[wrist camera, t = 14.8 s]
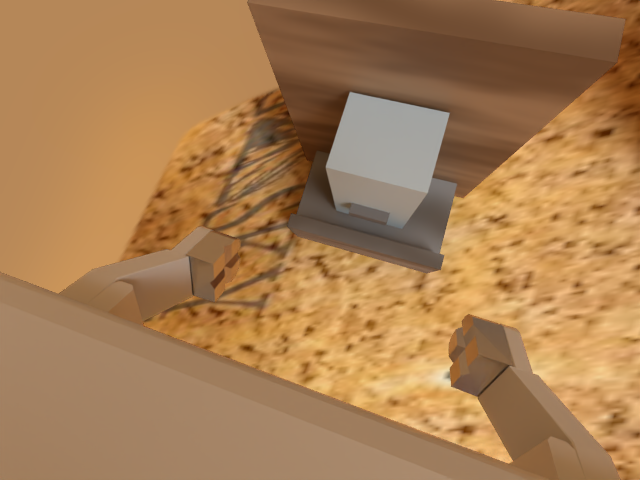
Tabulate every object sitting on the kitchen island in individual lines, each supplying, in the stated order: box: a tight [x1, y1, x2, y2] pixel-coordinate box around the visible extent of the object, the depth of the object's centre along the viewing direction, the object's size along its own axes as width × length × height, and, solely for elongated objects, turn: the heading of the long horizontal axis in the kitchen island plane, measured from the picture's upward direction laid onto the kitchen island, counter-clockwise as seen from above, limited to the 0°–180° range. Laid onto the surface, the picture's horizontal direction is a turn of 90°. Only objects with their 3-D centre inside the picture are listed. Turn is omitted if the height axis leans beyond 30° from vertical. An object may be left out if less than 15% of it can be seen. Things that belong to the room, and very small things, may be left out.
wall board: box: [247, 0, 626, 273], centre depth 22 cm, size 10×16×18 cm, turn 73°
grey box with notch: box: [326, 92, 450, 229], centre depth 23 cm, size 6×6×10 cm
